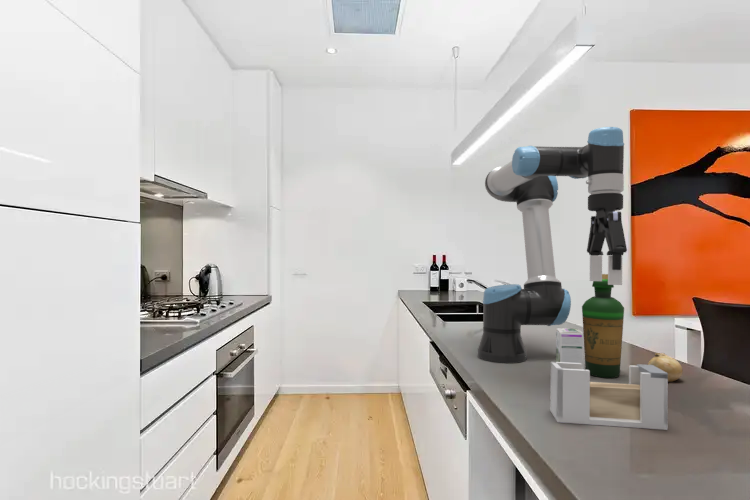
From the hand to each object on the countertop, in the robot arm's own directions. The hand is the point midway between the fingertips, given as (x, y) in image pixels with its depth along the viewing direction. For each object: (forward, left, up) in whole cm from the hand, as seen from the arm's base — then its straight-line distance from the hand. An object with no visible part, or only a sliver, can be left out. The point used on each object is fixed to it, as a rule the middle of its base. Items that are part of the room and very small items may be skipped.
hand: (604, 283), depth 107 cm
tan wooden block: (+17, -3, -26) cm, 31 cm away
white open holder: (+17, -5, -27) cm, 32 cm away
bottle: (-20, +6, -27) cm, 34 cm away
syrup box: (-5, -7, -27) cm, 28 cm away
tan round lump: (-18, +21, -27) cm, 39 cm away
